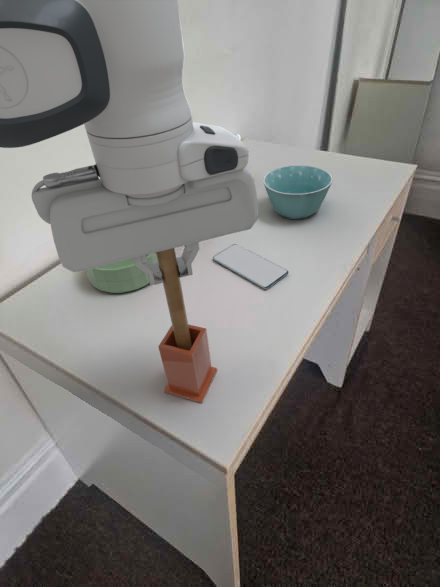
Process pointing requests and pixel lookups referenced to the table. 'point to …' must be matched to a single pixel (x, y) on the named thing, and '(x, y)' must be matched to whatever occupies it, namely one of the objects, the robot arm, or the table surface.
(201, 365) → the utensil holder
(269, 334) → the table surface
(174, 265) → the stirring stick
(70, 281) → the table surface
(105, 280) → the green round dish
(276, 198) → the bowl
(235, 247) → the smartphone
